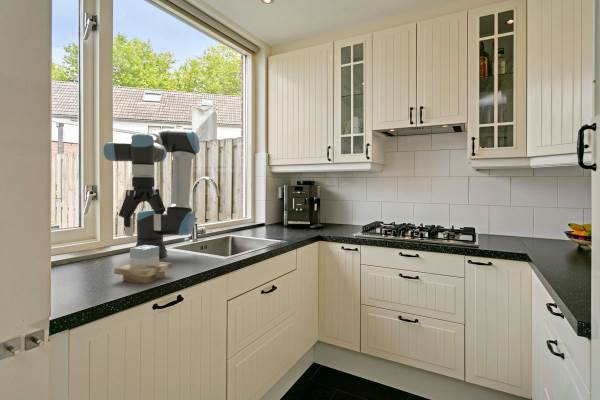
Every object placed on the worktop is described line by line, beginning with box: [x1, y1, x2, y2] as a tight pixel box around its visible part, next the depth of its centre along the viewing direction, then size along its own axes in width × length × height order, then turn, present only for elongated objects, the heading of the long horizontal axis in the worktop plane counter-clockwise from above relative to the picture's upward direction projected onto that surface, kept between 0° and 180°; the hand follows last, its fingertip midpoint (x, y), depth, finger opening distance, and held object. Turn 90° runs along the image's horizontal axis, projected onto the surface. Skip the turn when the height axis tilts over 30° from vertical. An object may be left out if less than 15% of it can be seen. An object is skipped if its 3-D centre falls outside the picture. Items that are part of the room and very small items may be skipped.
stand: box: [113, 261, 173, 285], centre depth 123 cm, size 14×14×5 cm
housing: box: [129, 245, 160, 269], centre depth 123 cm, size 9×7×7 cm
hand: (144, 233), depth 123 cm, fingers open, 13 cm apart
